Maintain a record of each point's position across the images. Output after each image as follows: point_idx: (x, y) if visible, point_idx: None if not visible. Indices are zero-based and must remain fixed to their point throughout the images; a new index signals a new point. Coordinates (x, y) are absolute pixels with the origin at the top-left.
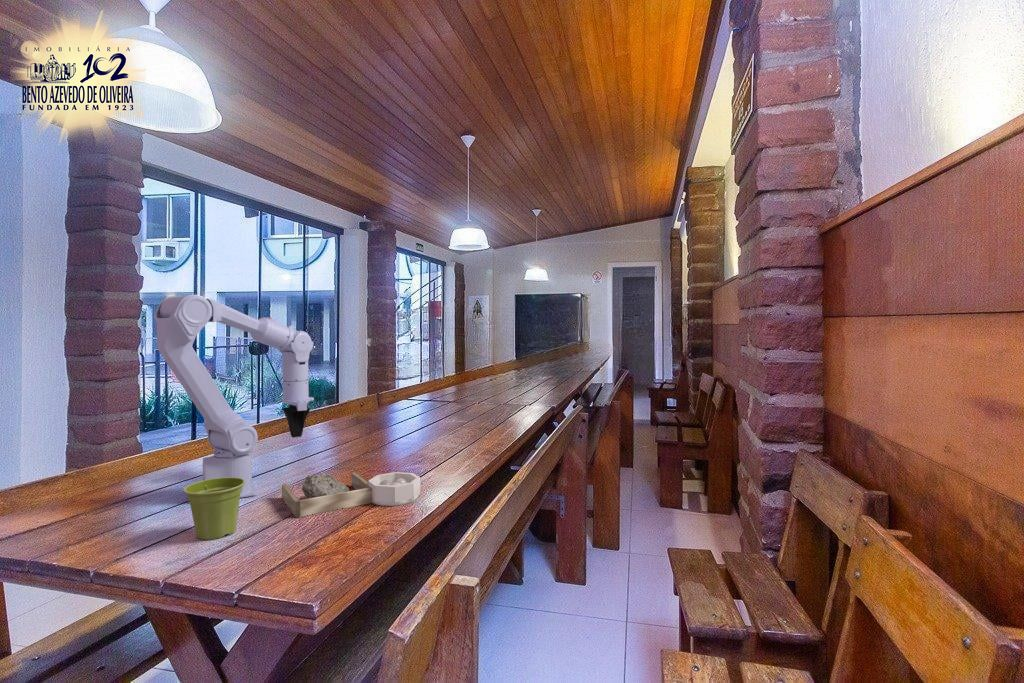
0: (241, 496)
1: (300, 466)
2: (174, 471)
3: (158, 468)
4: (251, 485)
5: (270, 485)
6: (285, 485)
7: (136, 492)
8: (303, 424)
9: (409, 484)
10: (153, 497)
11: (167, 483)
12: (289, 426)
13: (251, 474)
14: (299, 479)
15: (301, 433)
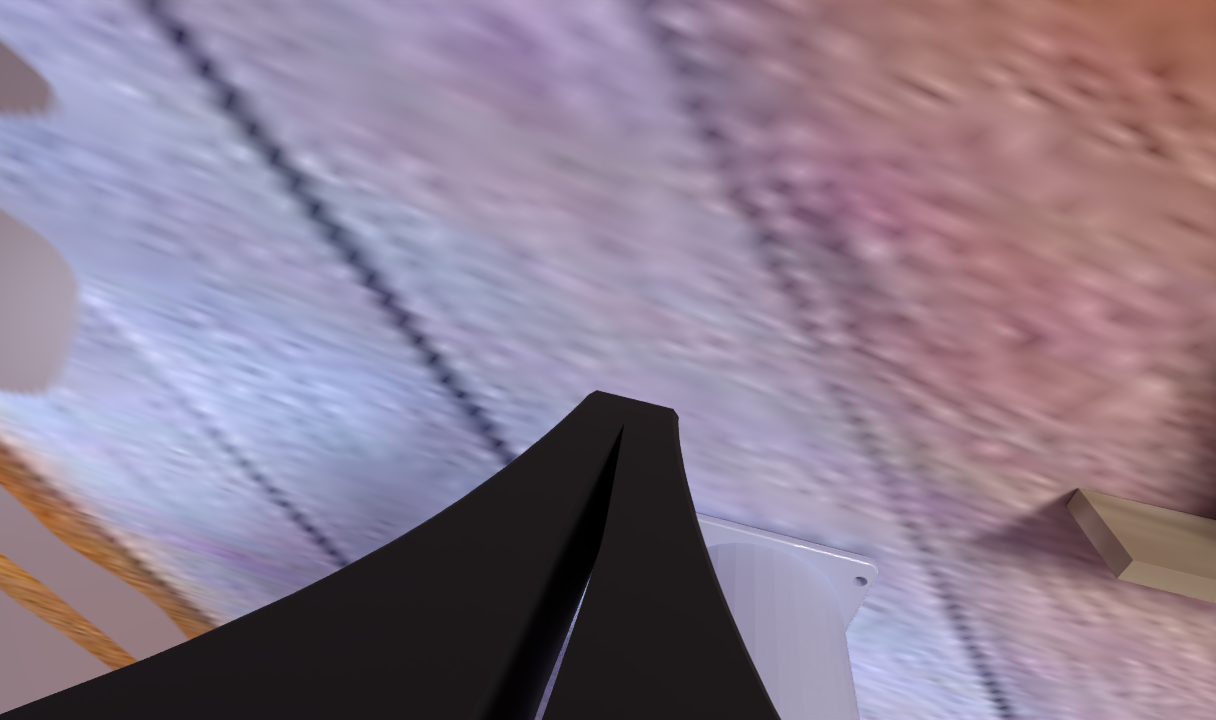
0: (854, 612)
1: (382, 102)
2: (214, 569)
3: (149, 580)
4: (806, 582)
5: (733, 437)
6: (1186, 583)
7: None
8: (704, 557)
9: None
10: None
11: None
12: (558, 654)
13: (807, 639)
14: (746, 262)
15: (677, 442)
